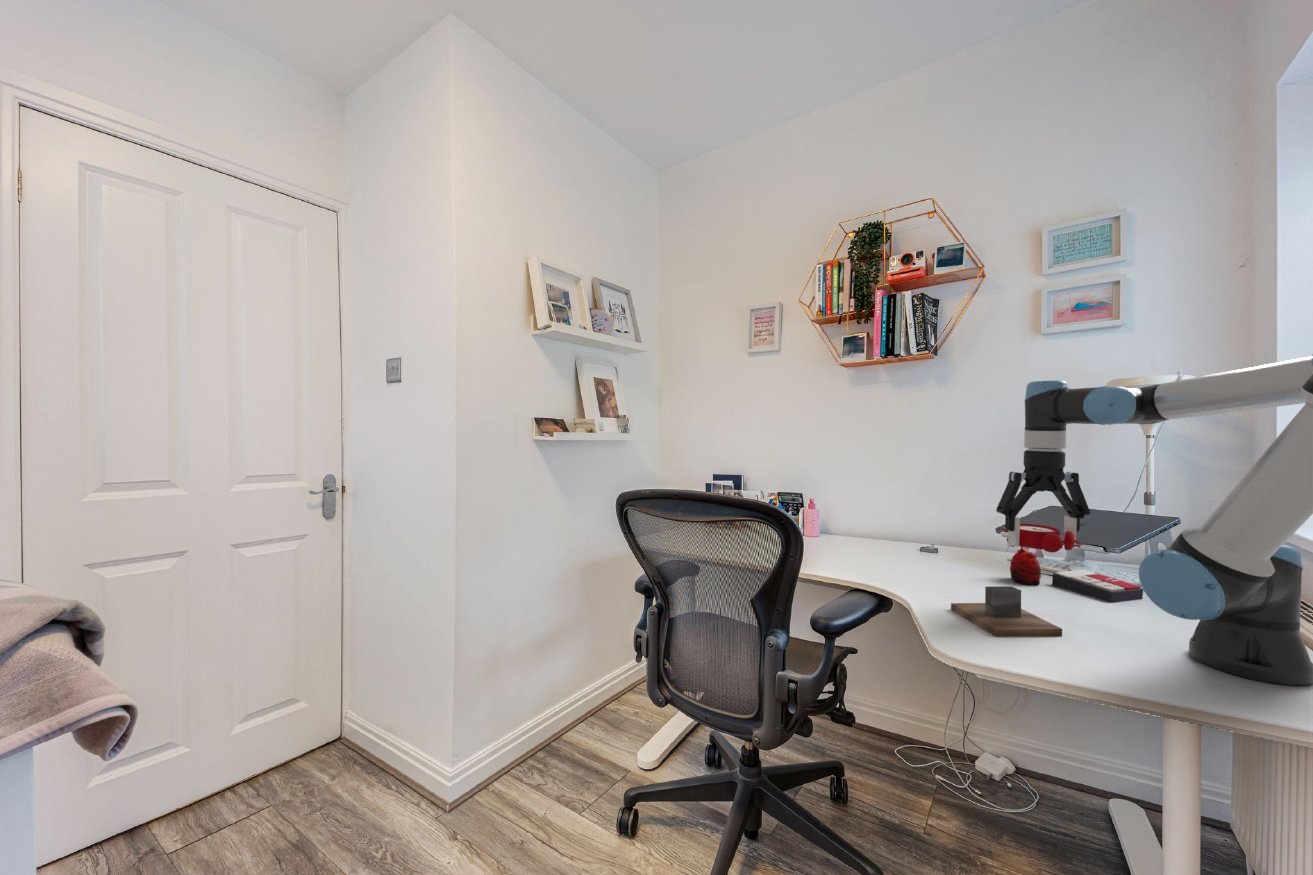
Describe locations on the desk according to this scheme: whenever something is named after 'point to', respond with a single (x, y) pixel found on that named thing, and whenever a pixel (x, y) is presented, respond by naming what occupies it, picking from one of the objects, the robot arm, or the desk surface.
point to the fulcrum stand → (1005, 614)
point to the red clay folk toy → (1025, 568)
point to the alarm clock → (1044, 538)
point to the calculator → (1097, 586)
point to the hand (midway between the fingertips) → (1041, 545)
